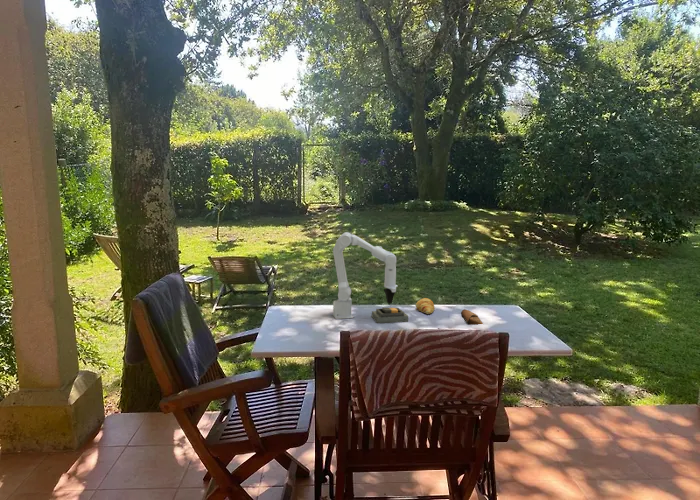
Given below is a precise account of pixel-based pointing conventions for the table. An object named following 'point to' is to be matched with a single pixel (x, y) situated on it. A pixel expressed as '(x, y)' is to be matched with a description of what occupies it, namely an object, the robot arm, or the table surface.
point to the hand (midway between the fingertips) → (389, 302)
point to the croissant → (425, 305)
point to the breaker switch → (389, 310)
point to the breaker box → (389, 316)
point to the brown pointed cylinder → (471, 317)
